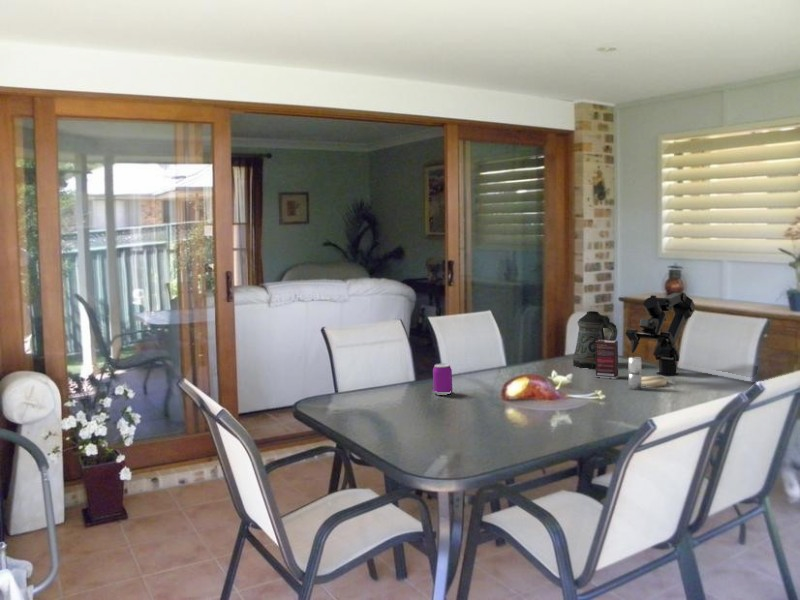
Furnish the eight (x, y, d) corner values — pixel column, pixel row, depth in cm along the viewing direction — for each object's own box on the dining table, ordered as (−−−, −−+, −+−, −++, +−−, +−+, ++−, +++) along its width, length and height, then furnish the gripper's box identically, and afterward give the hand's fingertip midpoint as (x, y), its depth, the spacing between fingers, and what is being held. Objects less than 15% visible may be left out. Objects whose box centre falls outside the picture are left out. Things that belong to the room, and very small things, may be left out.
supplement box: (618, 377, 313) (618, 340, 311) (615, 379, 309) (615, 342, 307) (598, 375, 317) (598, 339, 315) (595, 377, 313) (594, 341, 311)
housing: (625, 388, 293) (625, 357, 292) (634, 386, 296) (634, 356, 294) (634, 390, 289) (634, 359, 287) (644, 389, 291) (644, 358, 290)
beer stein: (570, 362, 346) (569, 309, 343) (612, 361, 344) (612, 308, 341) (575, 369, 330) (574, 314, 327) (619, 368, 328) (619, 313, 325)
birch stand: (629, 383, 302) (629, 378, 301) (650, 378, 307) (650, 374, 307) (651, 388, 291) (651, 383, 291) (673, 384, 296) (673, 379, 296)
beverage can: (451, 396, 292) (450, 367, 291) (432, 396, 294) (431, 367, 292) (453, 391, 300) (452, 363, 298) (435, 391, 301) (434, 363, 300)
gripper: (627, 309, 304) (614, 339, 297) (671, 312, 291) (658, 344, 284) (636, 325, 310) (624, 355, 304) (679, 329, 297) (667, 360, 291)
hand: (642, 353), depth 296 cm, fingers open, 9 cm apart
